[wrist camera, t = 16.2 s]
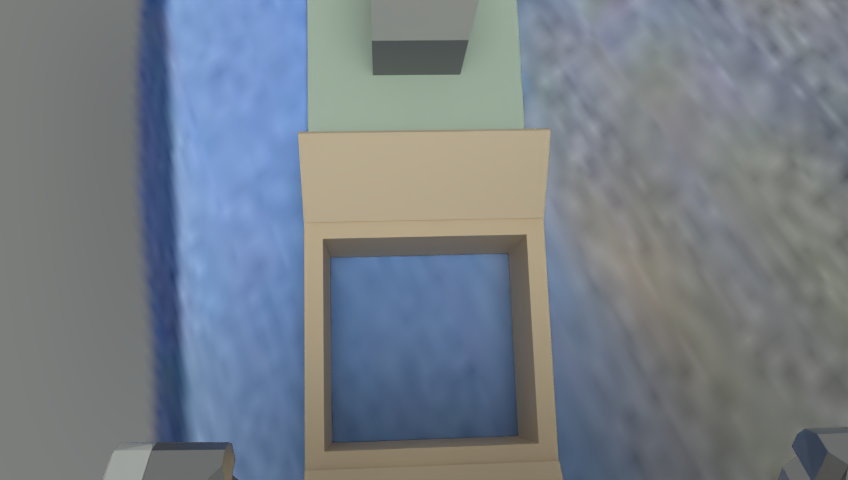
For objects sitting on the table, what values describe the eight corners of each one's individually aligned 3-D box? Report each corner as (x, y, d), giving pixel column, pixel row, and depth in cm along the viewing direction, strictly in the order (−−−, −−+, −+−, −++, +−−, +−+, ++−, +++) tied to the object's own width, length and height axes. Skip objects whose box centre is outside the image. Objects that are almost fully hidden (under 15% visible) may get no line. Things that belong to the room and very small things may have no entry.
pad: (510, -52, 42) (513, -62, 41) (521, 140, 40) (524, 134, 39) (308, -52, 41) (307, -62, 40) (309, 143, 39) (307, 137, 38)
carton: (519, 174, 39) (550, 126, 32) (539, 525, 36) (578, 560, 29) (313, 177, 39) (298, 129, 32) (315, 535, 36) (298, 573, 28)
